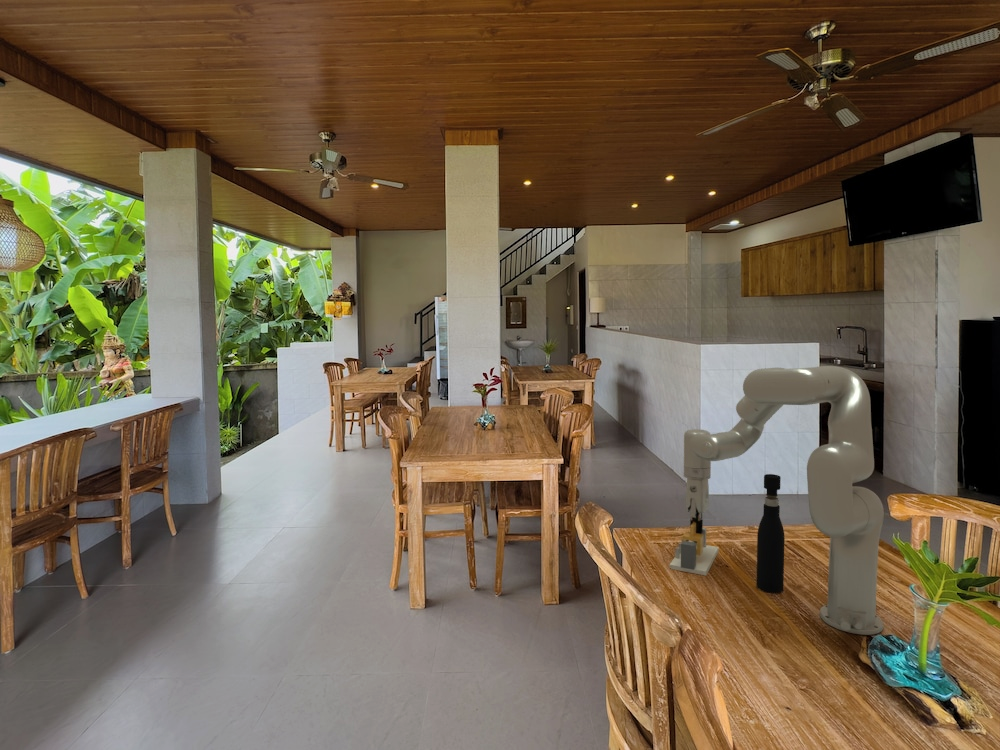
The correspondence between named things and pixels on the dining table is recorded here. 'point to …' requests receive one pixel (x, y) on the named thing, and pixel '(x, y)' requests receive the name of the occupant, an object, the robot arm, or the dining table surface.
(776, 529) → the black water bottle
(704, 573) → the linear slide rail
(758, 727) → the dining table surface
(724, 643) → the dining table surface
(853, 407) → the robot arm
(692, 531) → the sleeve
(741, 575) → the dining table surface
